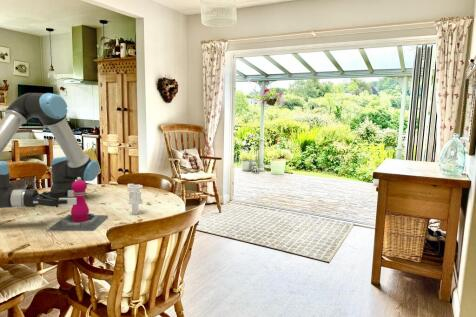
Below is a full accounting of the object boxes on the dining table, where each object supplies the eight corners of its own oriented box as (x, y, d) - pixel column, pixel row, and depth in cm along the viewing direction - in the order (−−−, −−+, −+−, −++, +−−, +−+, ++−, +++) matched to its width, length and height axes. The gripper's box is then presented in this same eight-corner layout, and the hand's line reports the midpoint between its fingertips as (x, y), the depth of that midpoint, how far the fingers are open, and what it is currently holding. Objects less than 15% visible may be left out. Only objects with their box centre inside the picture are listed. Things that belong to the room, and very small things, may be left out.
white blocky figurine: (128, 211, 165) (128, 182, 163) (142, 211, 166) (142, 182, 164) (127, 215, 158) (126, 185, 156) (142, 215, 160) (142, 185, 158)
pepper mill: (75, 218, 148) (73, 175, 145) (91, 218, 149) (90, 175, 146) (68, 223, 141) (66, 178, 138) (85, 223, 142) (84, 178, 139)
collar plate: (68, 216, 153) (68, 211, 153) (107, 217, 154) (107, 212, 154) (49, 230, 136) (48, 224, 135) (93, 230, 137) (93, 225, 136)
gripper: (36, 199, 151) (86, 198, 156) (13, 215, 127) (73, 213, 132) (36, 183, 150) (85, 182, 155) (12, 197, 126) (72, 195, 131)
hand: (80, 197), depth 143 cm, fingers open, 13 cm apart
